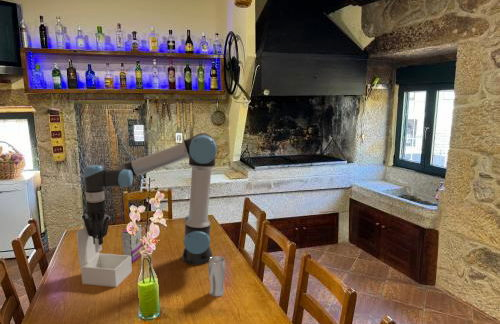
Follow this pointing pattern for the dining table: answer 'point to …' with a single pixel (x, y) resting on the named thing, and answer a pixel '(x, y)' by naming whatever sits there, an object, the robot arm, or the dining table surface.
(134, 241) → the candy bar box
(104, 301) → the dining table surface
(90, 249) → the mailer lid
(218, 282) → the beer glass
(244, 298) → the dining table surface
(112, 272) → the mailer box
